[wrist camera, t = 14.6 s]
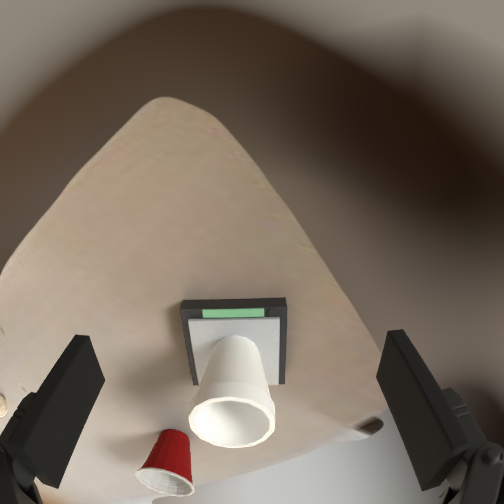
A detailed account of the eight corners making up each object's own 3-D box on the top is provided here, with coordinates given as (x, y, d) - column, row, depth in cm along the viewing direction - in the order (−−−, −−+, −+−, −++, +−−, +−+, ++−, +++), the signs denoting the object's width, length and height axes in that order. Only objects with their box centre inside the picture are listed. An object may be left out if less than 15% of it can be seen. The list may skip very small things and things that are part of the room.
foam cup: (283, 349, 43) (293, 420, 31) (242, 386, 46) (240, 456, 34) (227, 313, 41) (220, 383, 29) (189, 356, 44) (173, 425, 32)
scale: (183, 299, 44) (179, 311, 41) (285, 297, 44) (287, 308, 41) (195, 375, 49) (192, 388, 46) (283, 373, 49) (285, 386, 46)
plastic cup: (138, 422, 54) (123, 470, 43) (188, 418, 53) (178, 470, 42) (161, 452, 58) (152, 497, 46) (208, 450, 57) (203, 497, 45)
